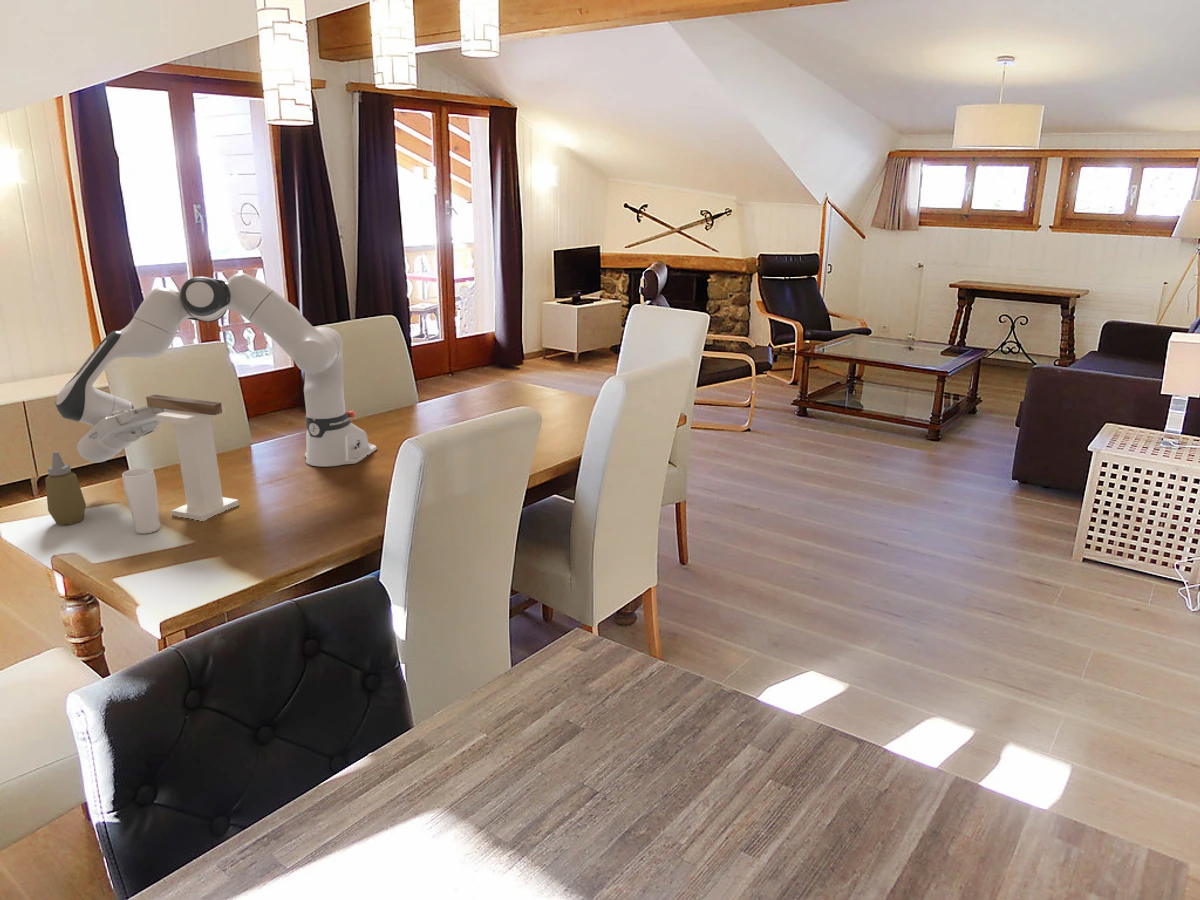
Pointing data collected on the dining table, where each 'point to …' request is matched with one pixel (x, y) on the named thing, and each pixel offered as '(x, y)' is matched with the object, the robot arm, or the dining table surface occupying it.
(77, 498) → the squeeze bottle
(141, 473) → the drinking glass
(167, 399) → the walnut bar
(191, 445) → the shelf stand
